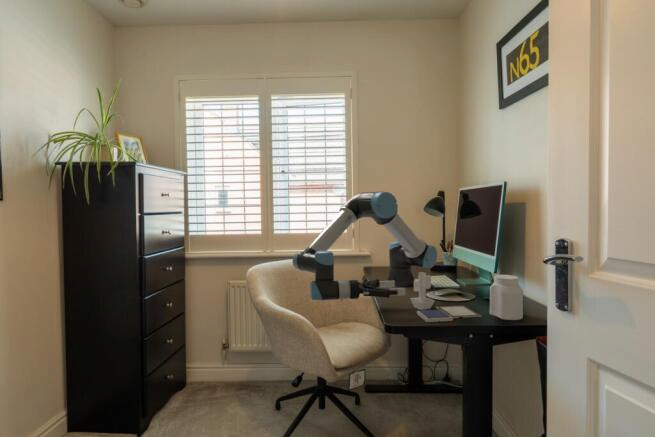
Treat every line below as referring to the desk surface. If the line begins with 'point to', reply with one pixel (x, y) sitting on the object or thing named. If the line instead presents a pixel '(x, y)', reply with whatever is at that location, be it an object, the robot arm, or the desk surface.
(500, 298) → the jar
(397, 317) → the desk surface
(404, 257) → the robot arm
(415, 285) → the figurine
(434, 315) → the ink pad
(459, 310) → the card sheet
